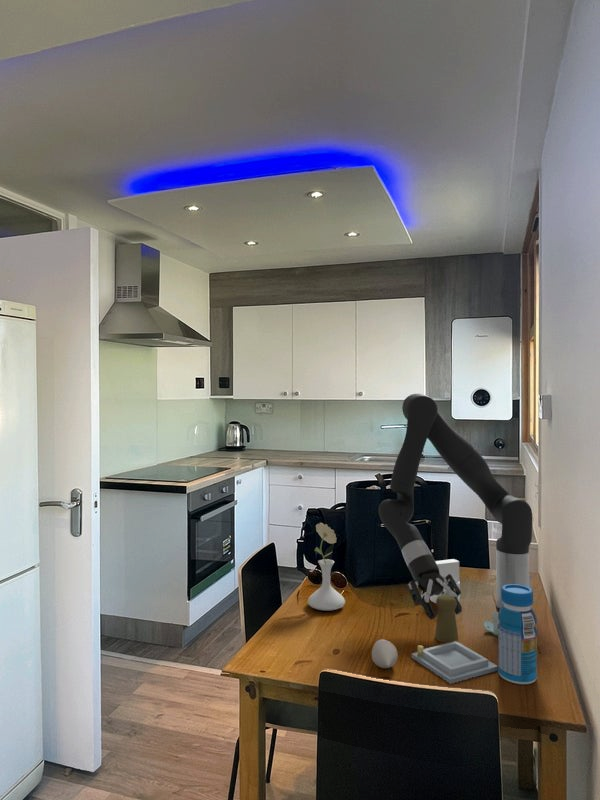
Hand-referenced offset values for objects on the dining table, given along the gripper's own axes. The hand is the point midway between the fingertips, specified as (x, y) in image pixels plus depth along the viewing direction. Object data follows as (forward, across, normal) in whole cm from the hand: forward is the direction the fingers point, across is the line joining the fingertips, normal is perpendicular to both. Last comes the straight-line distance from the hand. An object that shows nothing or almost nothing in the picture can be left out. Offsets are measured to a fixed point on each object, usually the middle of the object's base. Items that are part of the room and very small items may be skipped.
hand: (446, 615), depth 147 cm
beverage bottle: (+20, +1, -12) cm, 24 cm away
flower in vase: (-20, -18, +29) cm, 39 cm away
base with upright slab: (-11, +18, +20) cm, 29 cm away
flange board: (+13, -8, -4) cm, 15 cm away
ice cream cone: (+9, -24, 0) cm, 26 cm away
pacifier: (+7, +15, +2) cm, 17 cm away
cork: (+4, 0, +5) cm, 6 cm away
